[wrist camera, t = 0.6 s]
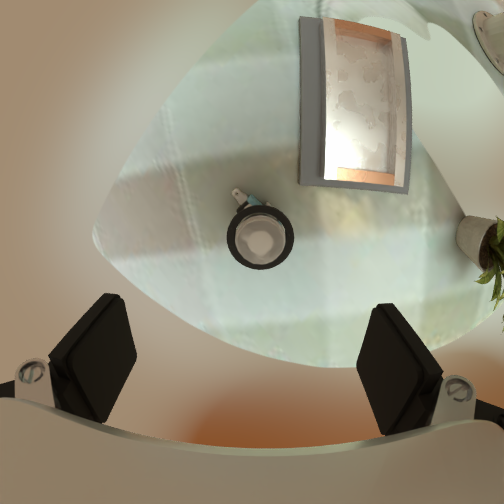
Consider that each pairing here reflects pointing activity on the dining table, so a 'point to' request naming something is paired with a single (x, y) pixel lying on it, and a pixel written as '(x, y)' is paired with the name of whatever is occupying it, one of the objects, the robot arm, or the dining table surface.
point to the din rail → (362, 104)
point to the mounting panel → (313, 114)
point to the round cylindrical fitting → (259, 234)
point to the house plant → (484, 248)
